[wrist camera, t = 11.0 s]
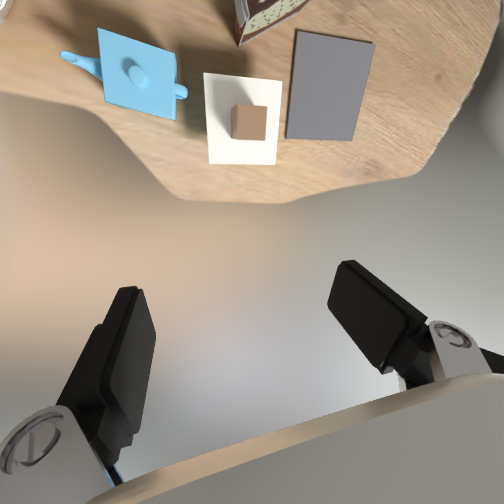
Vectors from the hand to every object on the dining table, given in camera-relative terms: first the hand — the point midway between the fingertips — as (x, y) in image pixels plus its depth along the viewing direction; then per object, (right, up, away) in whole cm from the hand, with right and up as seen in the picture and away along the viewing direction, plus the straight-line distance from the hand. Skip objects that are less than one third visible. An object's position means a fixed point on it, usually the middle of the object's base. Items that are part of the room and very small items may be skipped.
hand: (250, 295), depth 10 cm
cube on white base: (-1, +20, +19) cm, 27 cm away
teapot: (-15, +25, +18) cm, 34 cm away
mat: (+12, +28, +23) cm, 39 cm away
